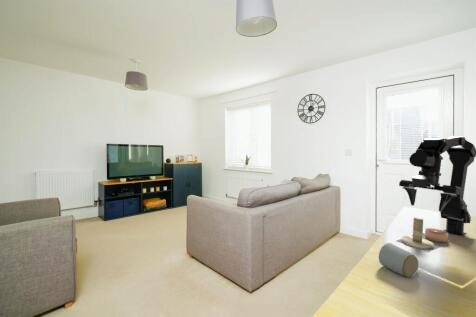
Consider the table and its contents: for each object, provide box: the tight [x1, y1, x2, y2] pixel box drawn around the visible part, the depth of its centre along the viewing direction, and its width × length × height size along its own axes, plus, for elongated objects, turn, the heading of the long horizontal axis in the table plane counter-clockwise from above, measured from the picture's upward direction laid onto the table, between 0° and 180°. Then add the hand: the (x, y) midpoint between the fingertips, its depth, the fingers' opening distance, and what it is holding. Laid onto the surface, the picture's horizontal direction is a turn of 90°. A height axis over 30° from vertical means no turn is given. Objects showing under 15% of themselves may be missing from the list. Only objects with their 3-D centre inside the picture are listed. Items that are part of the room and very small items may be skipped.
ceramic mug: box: [378, 242, 419, 278], centre depth 71 cm, size 11×8×8 cm
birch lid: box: [401, 217, 434, 250], centre depth 89 cm, size 10×10×10 cm
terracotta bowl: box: [424, 227, 449, 243], centre depth 93 cm, size 7×7×4 cm
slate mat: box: [396, 232, 453, 253], centre depth 92 cm, size 20×11×1 cm, turn 117°
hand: (425, 208), depth 89 cm, fingers open, 9 cm apart
